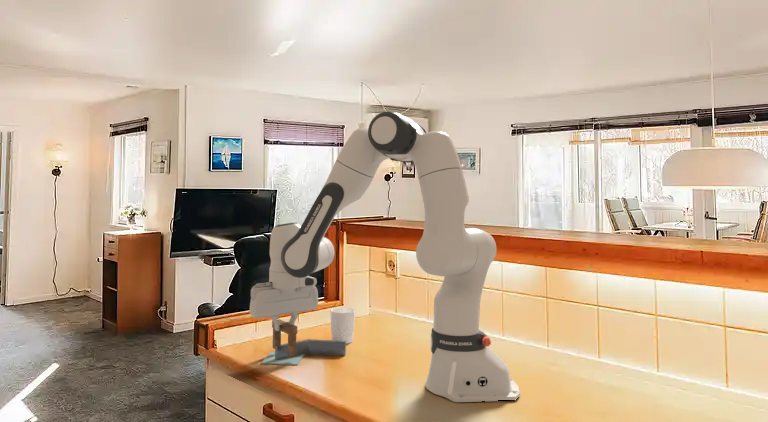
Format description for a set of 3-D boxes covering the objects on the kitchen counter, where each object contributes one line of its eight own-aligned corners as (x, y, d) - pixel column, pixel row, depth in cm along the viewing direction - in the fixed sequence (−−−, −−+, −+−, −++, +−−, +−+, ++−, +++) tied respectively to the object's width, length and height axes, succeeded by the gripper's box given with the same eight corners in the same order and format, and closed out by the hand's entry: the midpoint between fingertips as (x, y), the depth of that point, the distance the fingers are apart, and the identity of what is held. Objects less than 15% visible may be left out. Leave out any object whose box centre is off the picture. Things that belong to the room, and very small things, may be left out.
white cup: (356, 338, 170) (357, 307, 170) (352, 345, 162) (353, 313, 162) (332, 337, 171) (333, 306, 171) (327, 344, 163) (328, 312, 163)
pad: (305, 354, 153) (305, 353, 153) (297, 365, 143) (297, 364, 143) (271, 352, 153) (271, 351, 153) (260, 363, 143) (261, 362, 143)
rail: (345, 354, 153) (346, 340, 153) (341, 363, 145) (341, 349, 145) (282, 351, 155) (282, 338, 154) (274, 360, 146) (274, 346, 146)
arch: (279, 346, 152) (279, 319, 152) (296, 355, 145) (297, 326, 145) (271, 348, 151) (272, 320, 151) (289, 356, 143) (289, 327, 143)
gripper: (256, 285, 138) (255, 337, 139) (321, 278, 151) (320, 326, 152) (245, 282, 143) (245, 332, 143) (309, 275, 156) (308, 321, 157)
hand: (284, 329), depth 148 cm, fingers closed on arch, 2 cm apart
